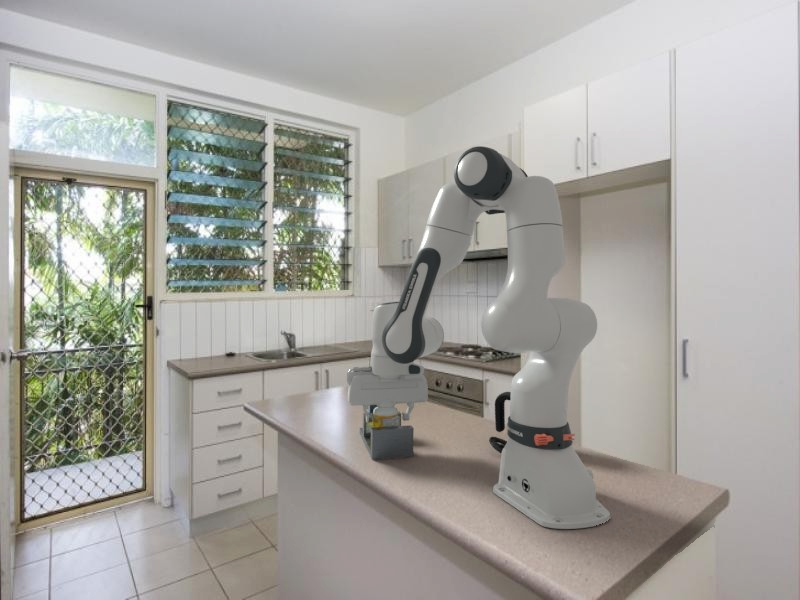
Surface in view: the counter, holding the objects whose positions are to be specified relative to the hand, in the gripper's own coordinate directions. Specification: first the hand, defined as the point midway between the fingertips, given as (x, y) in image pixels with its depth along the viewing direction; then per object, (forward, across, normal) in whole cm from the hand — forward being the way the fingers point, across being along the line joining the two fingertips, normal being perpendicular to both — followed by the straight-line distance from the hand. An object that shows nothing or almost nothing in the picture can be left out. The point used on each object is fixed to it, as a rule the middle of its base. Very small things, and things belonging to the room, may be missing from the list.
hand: (387, 421), depth 113 cm
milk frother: (+7, +32, -7) cm, 34 cm away
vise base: (+7, 0, +4) cm, 8 cm away
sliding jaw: (+6, 0, +10) cm, 11 cm away
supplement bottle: (+6, 0, 0) cm, 6 cm away
